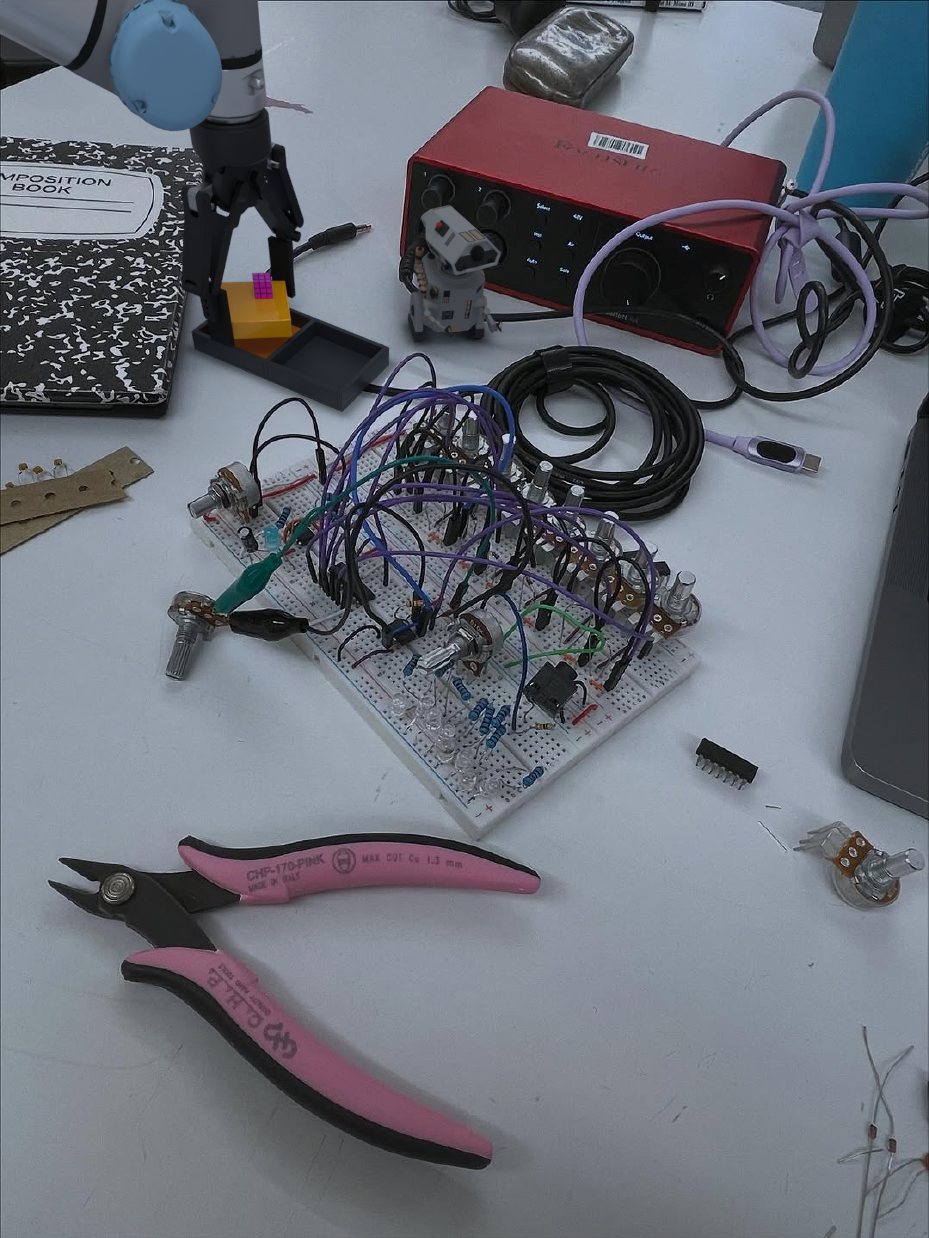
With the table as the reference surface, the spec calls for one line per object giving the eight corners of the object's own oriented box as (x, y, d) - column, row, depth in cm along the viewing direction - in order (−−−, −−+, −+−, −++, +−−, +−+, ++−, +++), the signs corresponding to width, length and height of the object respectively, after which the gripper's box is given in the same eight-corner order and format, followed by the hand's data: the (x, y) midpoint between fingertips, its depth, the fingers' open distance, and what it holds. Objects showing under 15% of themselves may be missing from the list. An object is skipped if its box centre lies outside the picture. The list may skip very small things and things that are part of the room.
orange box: (292, 337, 90) (289, 303, 87) (220, 340, 89) (214, 306, 85) (286, 297, 95) (283, 264, 91) (217, 299, 93) (211, 265, 90)
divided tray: (194, 349, 92) (190, 331, 90) (248, 307, 98) (245, 290, 96) (342, 411, 88) (341, 394, 86) (389, 364, 94) (389, 347, 92)
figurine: (423, 372, 94) (431, 251, 82) (405, 316, 100) (410, 196, 88) (496, 368, 96) (514, 248, 84) (474, 313, 102) (488, 195, 90)
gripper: (177, 165, 66) (217, 381, 84) (330, 79, 80) (337, 281, 97) (106, 139, 68) (160, 356, 85) (268, 59, 81) (286, 262, 99)
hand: (254, 317), depth 91 cm, fingers closed on orange box, 11 cm apart
